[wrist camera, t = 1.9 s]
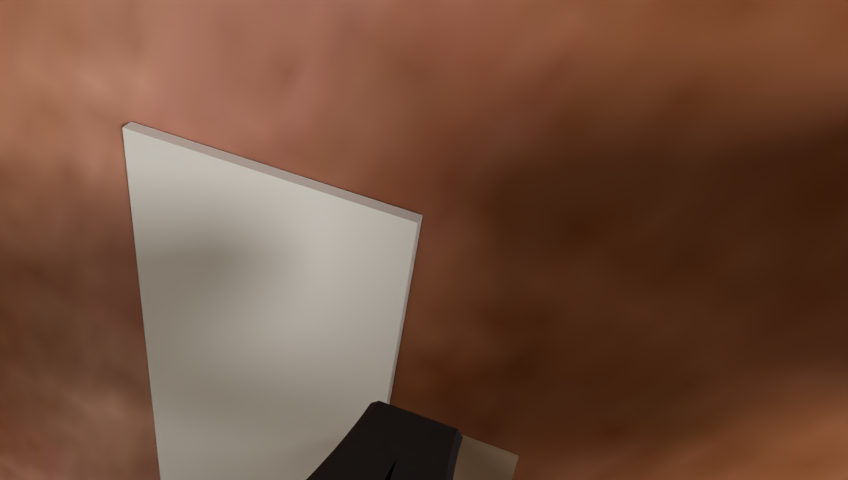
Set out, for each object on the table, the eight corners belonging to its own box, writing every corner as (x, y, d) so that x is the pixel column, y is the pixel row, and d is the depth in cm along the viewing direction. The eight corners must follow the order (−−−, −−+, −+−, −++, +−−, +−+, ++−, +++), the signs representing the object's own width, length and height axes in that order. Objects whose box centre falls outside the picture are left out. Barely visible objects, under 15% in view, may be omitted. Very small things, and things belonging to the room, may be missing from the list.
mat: (422, 215, 21) (417, 222, 21) (356, 591, 33) (352, 600, 33) (130, 121, 22) (122, 127, 22) (170, 514, 35) (164, 521, 34)
